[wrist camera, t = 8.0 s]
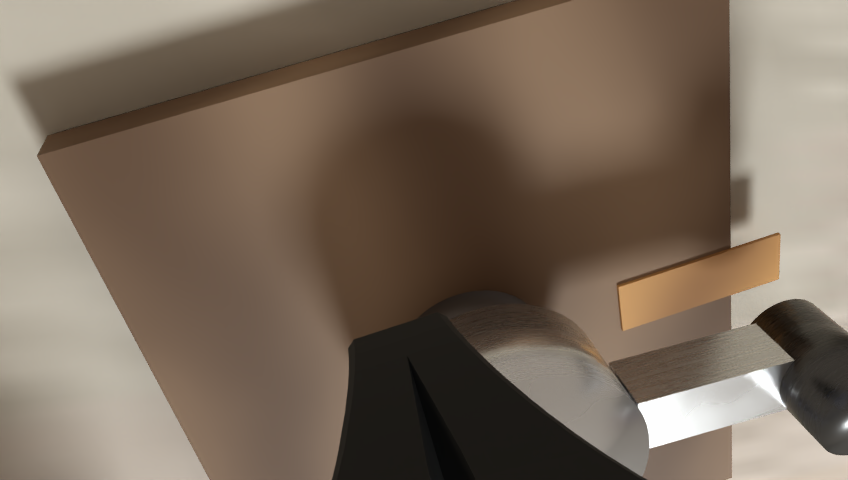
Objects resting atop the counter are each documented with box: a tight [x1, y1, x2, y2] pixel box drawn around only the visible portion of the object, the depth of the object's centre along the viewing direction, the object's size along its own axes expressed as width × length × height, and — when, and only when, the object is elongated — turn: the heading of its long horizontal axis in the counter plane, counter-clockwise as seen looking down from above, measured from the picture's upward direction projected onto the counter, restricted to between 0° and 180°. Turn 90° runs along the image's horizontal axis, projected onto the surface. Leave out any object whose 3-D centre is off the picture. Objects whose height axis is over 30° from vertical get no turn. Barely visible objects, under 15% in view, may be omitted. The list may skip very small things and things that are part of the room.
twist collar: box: [450, 299, 848, 476], centre depth 19 cm, size 12×6×4 cm, turn 98°
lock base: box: [37, 0, 780, 480], centre depth 22 cm, size 18×18×3 cm
